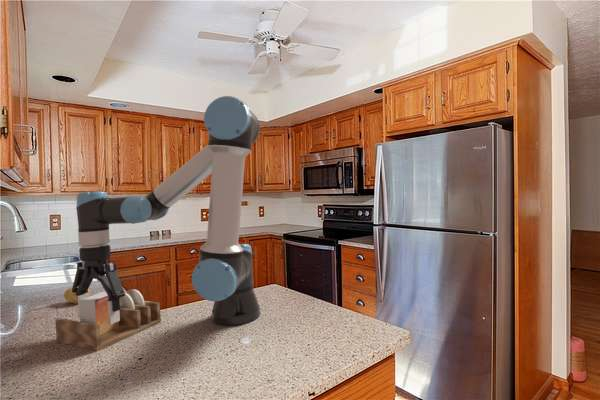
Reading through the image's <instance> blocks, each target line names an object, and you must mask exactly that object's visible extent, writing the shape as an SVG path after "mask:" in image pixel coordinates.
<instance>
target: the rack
mask: <svg viewBox="0 0 600 400" xmlns="http://www.w3.org/2000/svg"><path fill="white" fill-rule="evenodd" d="M119 300H120V310H119V311H120V321H119V327H118V328H116V329H114V330H111V331H109V332H107V333H105V334H103V335H101V336H100V326H98V325H93V324H88V323H83V322H80V321H79V320H72V319H68V318H62V317H57V318H55V335H56V336H55V337H56V342H60V343H64V344H67V345H71V346H75V347H79V348H83V349H86V350H90V351H91V350H92V351H94V352H99V351H101V350H103V349H105V348H107V347H110V346H112V345H114V344H117V343H118V342H121V341H123V340H125V339H127V338H130V337H132V336H134V335H136V334H138V333H140V332H143V331H145V330H147V328H148V329H149V327H150V328H151V327H154V326H156V325H159V324H161V323H162V321H161V320H162V319H161V318H162V317H161V303H160V302H156V301H150V300H144V296H143V295H142V293H141V292H140V291H139V290H138V289H135V288H134V289H129V290H127V291H126V292H125V296H123V297H120V299H119ZM160 322H161V323H160ZM158 323H159V324H158Z"/></svg>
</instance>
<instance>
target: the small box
mask: <svg viewBox="0 0 600 400" xmlns="http://www.w3.org/2000/svg"><path fill="white" fill-rule="evenodd" d="M108 299H109V296H108V295H107V293H106V291H101V292H98V293H95V294H93V295H90V296H89V297H86V298H83V299H80V300H79V307H80V318H79V322H83V323H88V324H93V325H98V326H100V336H101V335H103V334H105V333H107V332H109V331H111V330H114V329H116V328H118V327H119V321H118V322H116V323H113V324H109V313H108Z"/></svg>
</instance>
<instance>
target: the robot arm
mask: <svg viewBox="0 0 600 400" xmlns="http://www.w3.org/2000/svg"><path fill="white" fill-rule="evenodd" d="M203 123H204V127H205V129H206V130H207V132H208V143H207V145H206V146H204V147H203V148H201V150H199V151H198V152H197V153H196V154H195V155H194V156H192V157H191V158H190V159H189V160H188V161H186V162H185V163H184V164H183V165H182V166H180V167H179V168H178V169H177V170H176V171H174V172H173V173H172V174H171V175H170V176H168V177H167V178H166V179H165V180H163V181H162V182H161V183H160V184H158V185H157V186H156V187H155V188H154V189H153V190H151V191H150V192H149V193H148V194H147V195H145V196H140V195H139V196H138V195H135V196H134V195H132V196H120V197H108V193H107V192H106V191H104V190H103V191H101V190H100V191H81V192H79V193H77V194H76V208H75V209H76V217H77V226H78V232H77V234H78V235H77V236H78V237H77V238H78V246H80V247H79V249H78V250H79V251H78V253H79V254H78V255H79V261H78V262H76V273H75V276H74V279H73V285H72V287H71V288H72V292H73V293H74V292H75V293H76V295H77V296H78V303H77V311H78V319H80V307H79V300H80V299H83V298H86V297H89V294H88V289H89V288H90V286H91V284H92V282H93V280H97V282H100V284H101V285H102V288H103V289H104V292H106V293H107V295H108V296H109V299H108V313H109V324H113V323H116V322H118V321H120V311H119V310H120V300H119V299H120V297H123V296H125V293H126V292H125V290H124V287H123V285H122V281H121V278H120V276H119V274H118V271H117V264H116V262H110V263H109V262H108V259H109V258H111V257H112V255H111V253H112V252H111V245H109V243H110V241H111V238H110V225H115V224H116V225H117V224H118V225H119V224H121V225H123V224H124V225H125V224H139V223H145V222H147V221H157V220H159V219H162V218H164V217H165V216H166V215H167V214H168V212H169V210H170V208H171V207H172V206H174V205H175V204H177V203H178V202H179V201H180V200H181V199H182V198H183V197H185V196H186V195H187V194H188V193H190V192H191V191H192V190H194V188H196V187H198V185H199V184H201V183H202V182H203V181H204V180H206V179H207V178H208V177H209V176H211V180H210V192H209V205H208V218H207V219H208V220H207V230H206V231H207V232H206V241H205V243H203V244H202V245H200V249H199V257H198V259H199V260H198V263H197V264H196V265H195V267H194V269H193V271H192V274H191V283H192V287H193V289H194V291H195V292H196V293H197V295H199V297H201V298H202V299H205V300H206V301H210V302H214V303H213V307H212V310H211V321H212V322H213V323H214V324H217V325H222V326H235V325H236V326H237V325H242V324H247V323H249V322H252V321H255V320H257V319H258V318H259V317H260V315H261V306H260V304H259V302H258V298H257V296H256V293H255V291H254V274H253V273H254V271H253V252H252V246H251V245H250V244H248V243H242V244H240V243H239V238H240V229H241V227H240V226H241V215H242V200H243V190H244V177H245V163H246V157H247V156H248V155H250V154H251V153H252V146H253V144H254V143H256V141H257V139H258V138H259V135H260V132H261V130H260V122H259V119H258V117H257V115H255V113H253V111H252V110H251V109H250V107H249V106H248V104H246V103H245V102H244V101H242V100H241V99H239V98H237V97H235V96H230V95H224V96H219V97H218V98H217V97H216V98H215V99H214V100H213V101H212V102H210V103H209V105H207V108H206V109H205V111H204V116H203ZM77 287H78V288H77ZM85 293H87V294H85Z"/></svg>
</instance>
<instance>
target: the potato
mask: <svg viewBox="0 0 600 400" xmlns="http://www.w3.org/2000/svg"><path fill="white" fill-rule="evenodd" d="M78 287H79V286H78ZM78 287H77V288H78ZM85 294H87V293H85ZM88 294H89V296H91V290H90V289H89V288H88ZM63 297H64V299H65V301H66V302H68V303H71V304H78V296H77V295H76V293H75V292H74V293H73V292H72V287H69V288H67V289H66V290H65V291H64V293H63Z"/></svg>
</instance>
